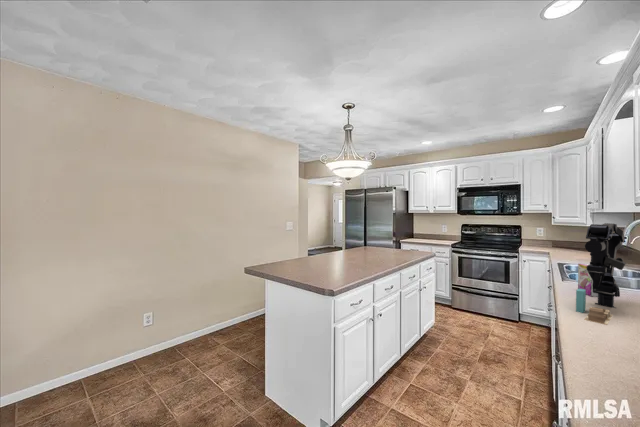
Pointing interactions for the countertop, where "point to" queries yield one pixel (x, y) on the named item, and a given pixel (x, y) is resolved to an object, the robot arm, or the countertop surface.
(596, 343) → the countertop surface
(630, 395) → the countertop surface
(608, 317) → the rack
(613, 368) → the countertop surface
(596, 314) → the offcut stack
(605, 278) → the robot arm
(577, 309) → the teal panel
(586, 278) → the candy bar box
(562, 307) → the countertop surface
